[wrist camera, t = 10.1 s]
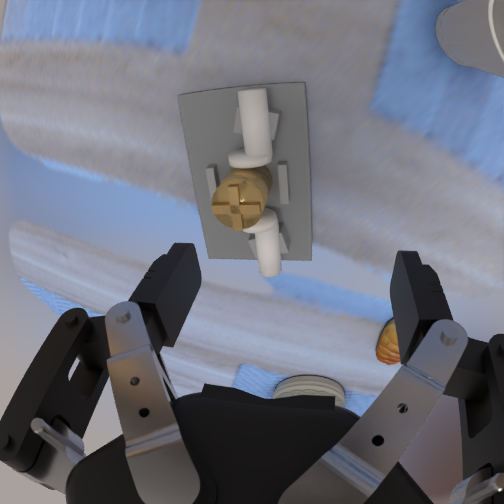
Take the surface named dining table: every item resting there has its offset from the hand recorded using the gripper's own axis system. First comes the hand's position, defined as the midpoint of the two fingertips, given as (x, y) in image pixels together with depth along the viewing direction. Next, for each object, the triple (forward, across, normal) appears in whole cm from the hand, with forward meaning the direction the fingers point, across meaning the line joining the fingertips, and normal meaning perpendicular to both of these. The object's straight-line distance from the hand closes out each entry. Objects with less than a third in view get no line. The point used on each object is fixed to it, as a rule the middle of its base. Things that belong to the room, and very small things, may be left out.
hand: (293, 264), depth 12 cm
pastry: (+20, -14, +27) cm, 36 cm away
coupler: (+19, +6, +4) cm, 20 cm away
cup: (+21, -16, -11) cm, 28 cm away
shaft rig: (+20, +6, +5) cm, 21 cm away
